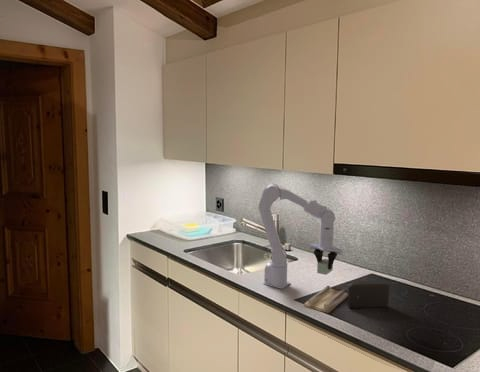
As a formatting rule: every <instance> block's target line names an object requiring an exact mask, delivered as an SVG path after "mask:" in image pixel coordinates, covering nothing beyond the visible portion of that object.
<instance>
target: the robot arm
mask: <svg viewBox="0 0 480 372" xmlns="http://www.w3.org/2000/svg"><path fill="white" fill-rule="evenodd" d="M278 199H279V200H280V201H283V200H288V201H290V202H292V203H295V204H296V205H299V206H300V207H302V209H303V211H304V212H305V213H307V214H309V215H310V216H312V217H314V218H316V219H320V226H319V238H318V239H319V241H318V243H310V244H309V245H308V248H309V249H310V250H313V254H314V256H315V259H316V262H317V263H318V262H320V261H321V260H323V255H324V252H328V253H327V259H328V261H329V263H328V269H331V268H332V265H333V266H334V263H335V262H334V261H335V260H336V257H337V256H338V255H343V254H344V248H343V249H342V248H339V247H337V246H334V228H335V227H334V223H335V221H336V215H335V213H334V211H333V210H332V209H331V208H330V207H327V206H326V205H322V204H321V203H319V202H318V201H317V200H316V199H304V198H303V197H301V196H299V195H298V194H296V193H294V192H293V191H292V190H289V189H287V188H285V187H282V186H281V185H278V184H276V183H269V184H268V185H267V186H266V187H265V188H264V190H263V191H262V194H261V197H260V201H259V204H258V210H259V211H258V212H259V214H260V217H261V221H262V224H263V227H264V229H265V234H266V237H267V240H268V243H269V246H270V251H271V256H272V257H271V262H267V263H266V265H265V266H264V278H263V279H264V282H262V283H263V285H266V286H269V287H270V286H271V287H272V288H273V287H274V288H277V289H281V290H282V289H284V288H285V287H288V286H289V285H290V284H291V282H290V281H288V263H287V251H286V249H285V248H284V247H283V244H282V242H281V239H280V237H279V233H278V230H277V226H276V224H275V221H274V216H273V213H272V210H271V207H272V205H273V204H274V203H275V202H276V201H277V200H278Z"/></svg>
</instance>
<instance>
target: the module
mask: <svg viewBox="0 0 480 372" xmlns="http://www.w3.org/2000/svg"><path fill="white" fill-rule="evenodd" d="M328 263H329V261H328V258H322V260H321V261H320V262H317V264H316V265H317V266H316V269H317V270H316V271H317V272H316V273H317V274H320V275H325V276H326V275H328V274H330V273H331V272H332V271H333V268H334V267H333V266H334V264H333V265H332V268H331V269H328Z"/></svg>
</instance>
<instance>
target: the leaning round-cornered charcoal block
mask: <svg viewBox="0 0 480 372" xmlns="http://www.w3.org/2000/svg"><path fill="white" fill-rule="evenodd" d="M347 290H348V291H347V293H348V296H347V307H348V308H350V309H363V308H364V309H365V308H386V307H388V306H389V304H390V291H391V288H390V285H389V283H387V282H382V281H376V280H373V281H372V280H371V281H370V280H364V281H363V280H361V281H355V282H352V283H350V284H349V285H348V287H347Z"/></svg>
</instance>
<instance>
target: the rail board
mask: <svg viewBox="0 0 480 372" xmlns="http://www.w3.org/2000/svg"><path fill="white" fill-rule="evenodd" d="M346 298H348V292H346V290H345V289H344V288H343V289H341V290H336V289H333V288H331V286H330V285H327V286H324V288H322V289H321V290H319V292H317V293H316V294H314V295H313V296H312V297H310V298H308V300H306V301H305V302H304V303H303V306H304V307H305V308H309V307H310V308H309V309H312V308H313V310H317V311H320V312H323V313H327V314H329V313H330V312H332V311H333V310H334V309H335V308H336V307H337V306H338V305H339V304H340V303H342V302H343V301H344V300H345V299H346Z"/></svg>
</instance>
